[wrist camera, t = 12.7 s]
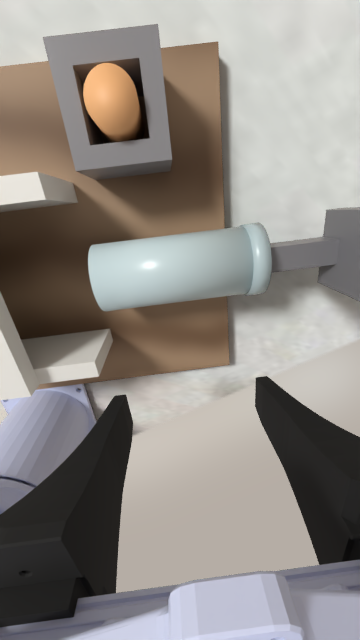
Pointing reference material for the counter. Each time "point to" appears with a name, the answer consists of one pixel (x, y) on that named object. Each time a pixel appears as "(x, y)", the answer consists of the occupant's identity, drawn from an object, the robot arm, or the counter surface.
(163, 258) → the grey and blue plunger
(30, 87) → the mounting board
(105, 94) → the orange rounded peg
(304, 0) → the counter surface
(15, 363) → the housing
